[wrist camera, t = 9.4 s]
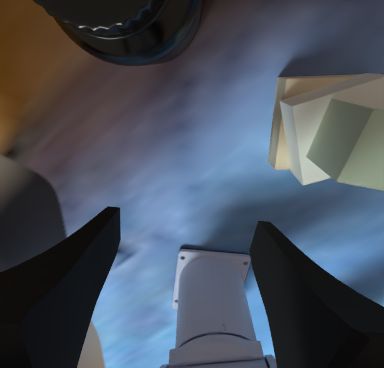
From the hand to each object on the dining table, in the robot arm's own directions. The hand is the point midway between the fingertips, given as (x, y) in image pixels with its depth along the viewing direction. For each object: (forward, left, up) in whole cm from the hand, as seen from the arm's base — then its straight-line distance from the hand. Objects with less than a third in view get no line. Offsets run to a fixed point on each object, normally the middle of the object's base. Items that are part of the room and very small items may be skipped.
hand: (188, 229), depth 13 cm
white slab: (+5, -10, -8) cm, 14 cm away
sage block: (+5, -10, -6) cm, 13 cm away
